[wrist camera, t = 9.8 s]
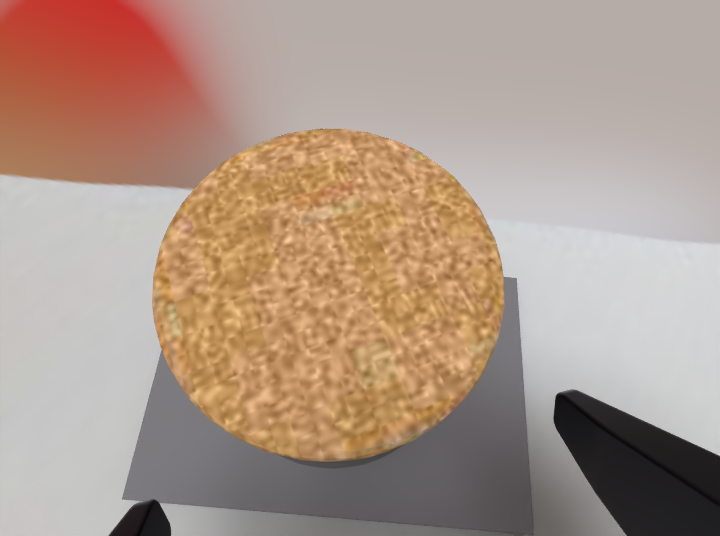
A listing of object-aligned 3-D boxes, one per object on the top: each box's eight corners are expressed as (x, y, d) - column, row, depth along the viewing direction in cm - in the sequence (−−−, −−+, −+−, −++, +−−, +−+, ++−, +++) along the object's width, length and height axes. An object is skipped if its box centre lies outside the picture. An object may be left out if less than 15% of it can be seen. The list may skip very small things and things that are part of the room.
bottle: (275, 447, 18) (50, 541, 4) (278, 321, 20) (141, 94, 6) (401, 440, 18) (604, 505, 4) (392, 317, 20) (508, 95, 6)
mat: (512, 281, 22) (516, 278, 22) (527, 531, 18) (533, 534, 17) (192, 251, 22) (188, 247, 21) (128, 496, 18) (122, 499, 17)
